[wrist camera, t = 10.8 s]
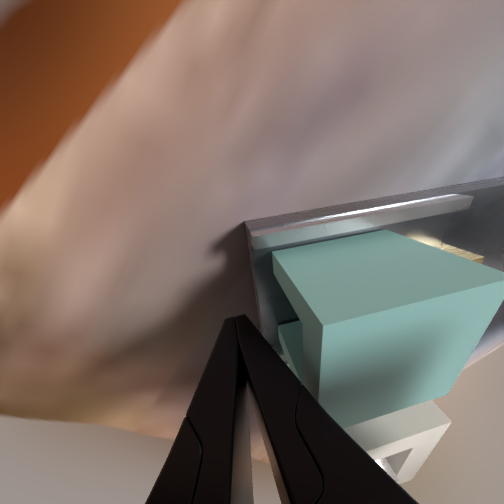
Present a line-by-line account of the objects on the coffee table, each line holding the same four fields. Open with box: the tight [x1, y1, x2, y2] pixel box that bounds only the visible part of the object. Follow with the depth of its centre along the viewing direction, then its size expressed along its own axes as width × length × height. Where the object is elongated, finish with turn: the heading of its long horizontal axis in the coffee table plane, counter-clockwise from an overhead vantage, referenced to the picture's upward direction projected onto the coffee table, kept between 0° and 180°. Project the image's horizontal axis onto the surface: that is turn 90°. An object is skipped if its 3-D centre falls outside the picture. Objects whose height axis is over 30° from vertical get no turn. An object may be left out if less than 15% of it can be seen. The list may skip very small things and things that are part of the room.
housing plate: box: [244, 177, 504, 482], centre depth 9 cm, size 15×14×6 cm
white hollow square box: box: [287, 364, 451, 484], centre depth 10 cm, size 6×6×4 cm
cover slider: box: [272, 229, 504, 428], centre depth 7 cm, size 5×5×4 cm
